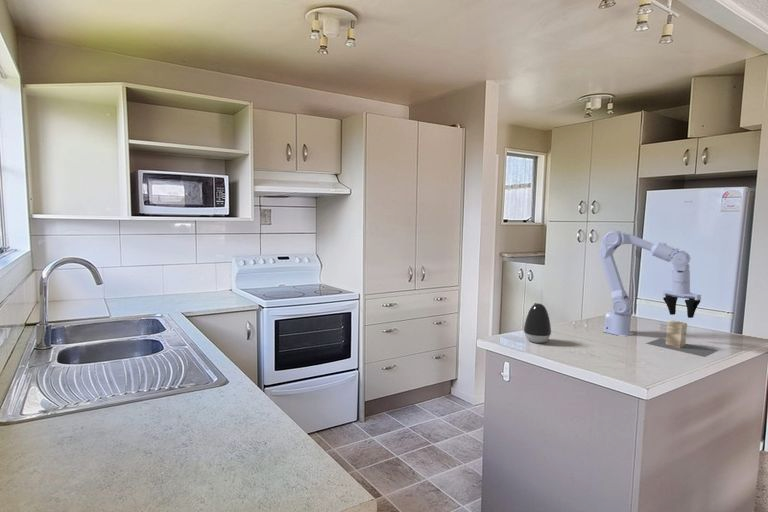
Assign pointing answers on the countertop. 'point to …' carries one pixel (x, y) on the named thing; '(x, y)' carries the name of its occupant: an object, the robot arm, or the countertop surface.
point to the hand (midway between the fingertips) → (681, 316)
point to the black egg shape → (537, 324)
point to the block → (676, 334)
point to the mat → (684, 348)
